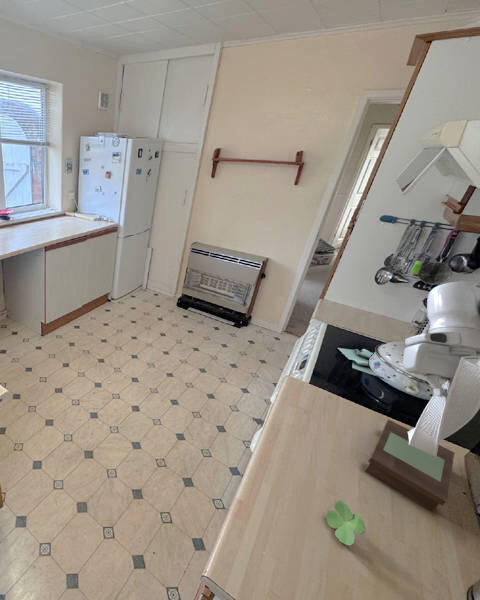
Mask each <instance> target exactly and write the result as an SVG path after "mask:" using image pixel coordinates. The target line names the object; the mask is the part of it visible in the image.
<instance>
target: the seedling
mask: <svg viewBox="0 0 480 600" xmlns="http://www.w3.org/2000/svg"><path fill="white" fill-rule="evenodd" d="M333 506H334V510H335V511H334V510H329V511H328V512H327V513H326V522H327V524H328V526H330V528H332V529H335V531H334V535H335V537H336V538H337V539H338V540H339V542H340V543H342V544H344V545H346V546H352V545H353V544H354V543H355V535H362V533H363V532H364V530H365V529H366V528H365V527H366V525H365V521H364V519H363V517H362V516H361V515H360V514H359V513H355V512H354V513H353V512H352V511H351V510H350V507H349V505H348V504H347V503H345V502H343V501H341V500H339V501H335V503H334V505H333Z"/></svg>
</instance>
